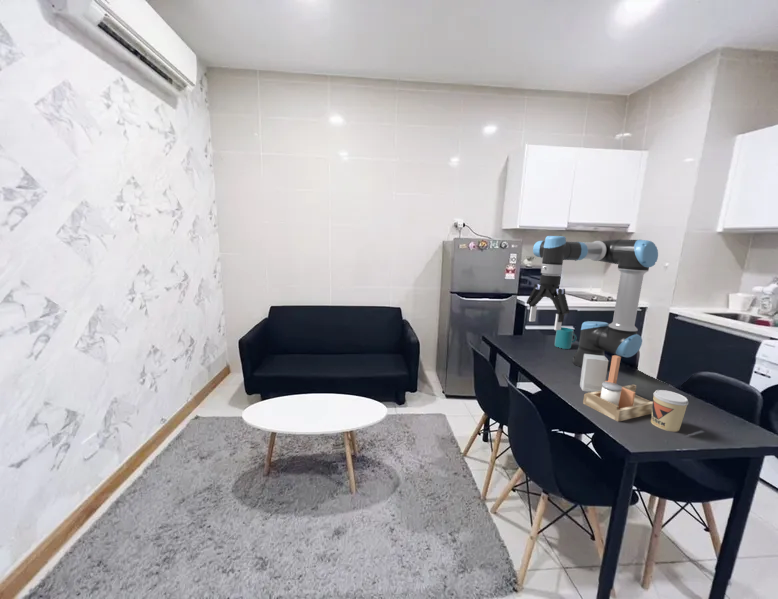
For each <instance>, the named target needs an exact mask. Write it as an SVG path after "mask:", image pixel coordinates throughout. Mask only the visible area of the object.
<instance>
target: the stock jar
mask: <svg viewBox="0 0 778 599" xmlns="http://www.w3.org/2000/svg"><path fill="white" fill-rule="evenodd" d="M621 391H622V385H620V384H618V383H617V382H616V383H612V382H603V383H602V390H601V396H600V398H602V399H604V400H606V401H608V402H611V403H613V404H615V405H617V406H619V401H620V395H621Z"/></svg>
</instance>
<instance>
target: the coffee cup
mask: <svg viewBox="0 0 778 599" xmlns="http://www.w3.org/2000/svg"><path fill="white" fill-rule="evenodd" d="M652 401H653V405H652V414H650V415H651V416H650V417H651V418H650V423H651V424H652V425H653V426H655V427H657V428H659V429H661V430H664V431H667V432H674V433H676V432H677V433H678V432H680V429H681V426H682V423H683V420H684V417H685V413H686V410H687V406H688V405H689V400H688V398H687V397H686V396H684V395H682V394H680V393H678V392H674V391H671V390H666V389H665V390H664V389H657V390H655V391H654V392H653V398H652Z"/></svg>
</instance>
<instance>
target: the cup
mask: <svg viewBox="0 0 778 599" xmlns="http://www.w3.org/2000/svg"><path fill="white" fill-rule="evenodd" d="M555 332H556V333H555V337H554V347H556V348H558V347H559V348H558V349H561V348H562V349H561V350H569V349H570V350H571V349H572V344H573V343H575V342H576V341H577V335H576V334H575V333H574V329H572V328H569V327H564V326H561V330H555ZM573 336H574V339H573Z"/></svg>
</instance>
